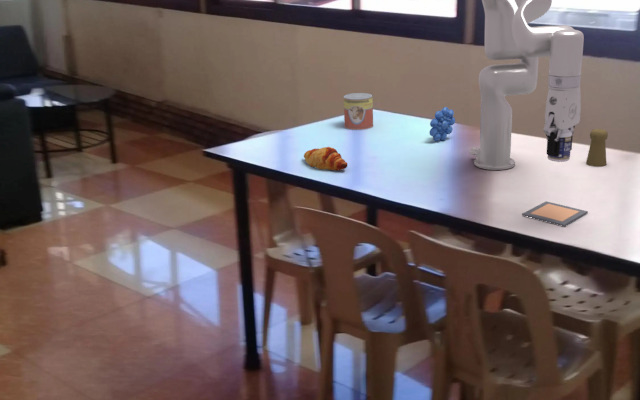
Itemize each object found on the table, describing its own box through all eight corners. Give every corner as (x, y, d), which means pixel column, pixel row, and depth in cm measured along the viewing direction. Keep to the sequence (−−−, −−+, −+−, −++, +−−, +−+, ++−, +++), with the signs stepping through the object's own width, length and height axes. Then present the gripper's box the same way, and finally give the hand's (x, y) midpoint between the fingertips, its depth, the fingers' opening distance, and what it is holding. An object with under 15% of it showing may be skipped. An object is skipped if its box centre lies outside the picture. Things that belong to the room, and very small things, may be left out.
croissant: (299, 171, 249) (288, 153, 244) (318, 152, 253) (308, 134, 248) (341, 183, 233) (331, 164, 229) (361, 163, 237) (351, 144, 233)
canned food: (342, 130, 284) (341, 99, 279) (346, 122, 294) (345, 93, 290) (371, 130, 282) (371, 99, 278) (374, 122, 292) (374, 92, 288)
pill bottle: (566, 163, 184) (569, 125, 181) (544, 160, 187) (547, 123, 184) (572, 157, 189) (575, 120, 185) (550, 155, 191) (553, 118, 188)
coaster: (522, 215, 193) (522, 213, 193) (545, 203, 201) (546, 201, 201) (564, 226, 185) (564, 224, 185) (587, 213, 193) (587, 211, 193)
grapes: (445, 135, 270) (446, 103, 266) (459, 138, 265) (459, 106, 261) (421, 141, 264) (422, 108, 260) (434, 145, 259) (435, 111, 255)
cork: (607, 166, 228) (611, 132, 224) (587, 166, 229) (590, 132, 226) (604, 161, 234) (608, 127, 230) (584, 160, 235) (587, 127, 231)
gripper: (560, 89, 173) (555, 163, 179) (595, 77, 184) (589, 147, 190) (531, 85, 178) (527, 157, 184) (567, 74, 189) (562, 142, 195)
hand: (559, 151), depth 187 cm, fingers closed on pill bottle, 5 cm apart
